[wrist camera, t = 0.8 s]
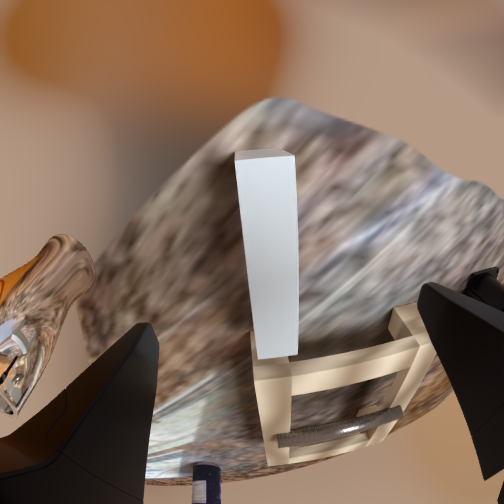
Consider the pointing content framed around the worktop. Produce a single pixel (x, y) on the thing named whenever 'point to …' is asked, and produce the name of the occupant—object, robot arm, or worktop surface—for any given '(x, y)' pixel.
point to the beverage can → (206, 484)
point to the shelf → (341, 384)
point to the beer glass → (37, 314)
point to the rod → (339, 428)
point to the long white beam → (270, 246)
